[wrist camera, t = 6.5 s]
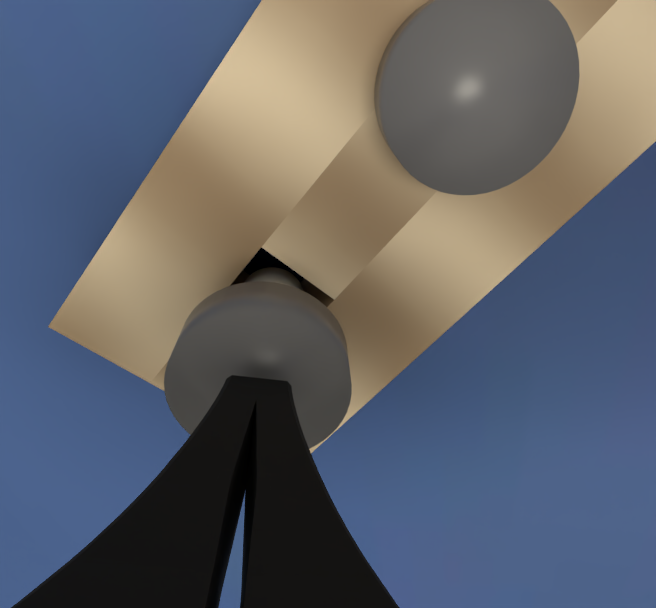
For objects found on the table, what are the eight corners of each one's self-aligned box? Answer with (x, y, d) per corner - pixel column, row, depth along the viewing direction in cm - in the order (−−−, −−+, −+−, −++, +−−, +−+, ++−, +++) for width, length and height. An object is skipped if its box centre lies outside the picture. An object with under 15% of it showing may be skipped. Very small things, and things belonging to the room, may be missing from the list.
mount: (724, -666, 9) (969, -1080, 6) (908, -203, 13) (1135, -293, 9) (97, 272, 19) (48, 326, 15) (299, 396, 22) (298, 464, 19)
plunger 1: (368, 286, 16) (389, 380, 11) (285, 371, 17) (277, 483, 13) (257, 202, 14) (234, 275, 10) (178, 304, 16) (129, 404, 11)
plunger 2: (531, 70, 15) (619, 85, 11) (430, 179, 17) (471, 229, 12) (433, -41, 14) (490, -75, 9) (332, 90, 15) (341, 113, 11)
